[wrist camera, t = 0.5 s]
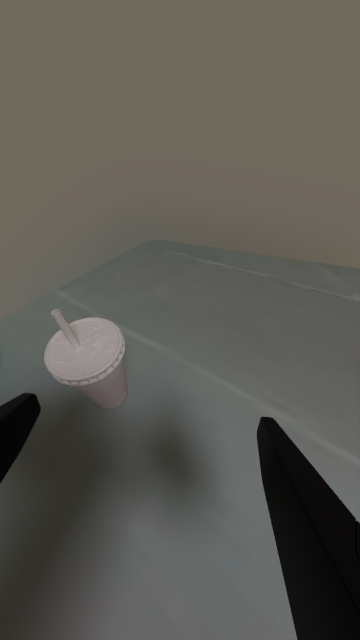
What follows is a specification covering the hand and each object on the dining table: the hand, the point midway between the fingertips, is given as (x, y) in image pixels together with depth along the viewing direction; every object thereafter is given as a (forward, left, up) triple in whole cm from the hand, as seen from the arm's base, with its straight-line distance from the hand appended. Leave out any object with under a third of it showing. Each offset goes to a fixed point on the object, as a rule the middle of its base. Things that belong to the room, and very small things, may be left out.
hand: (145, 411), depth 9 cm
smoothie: (+5, +9, -16) cm, 19 cm away
